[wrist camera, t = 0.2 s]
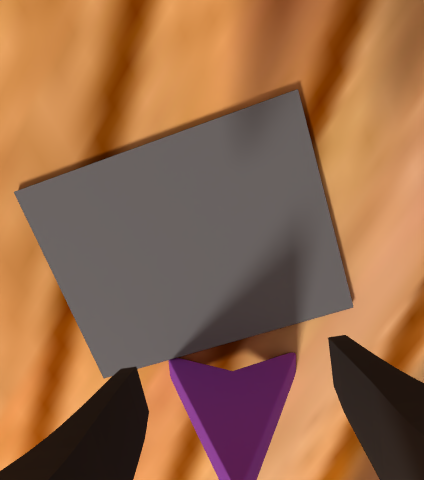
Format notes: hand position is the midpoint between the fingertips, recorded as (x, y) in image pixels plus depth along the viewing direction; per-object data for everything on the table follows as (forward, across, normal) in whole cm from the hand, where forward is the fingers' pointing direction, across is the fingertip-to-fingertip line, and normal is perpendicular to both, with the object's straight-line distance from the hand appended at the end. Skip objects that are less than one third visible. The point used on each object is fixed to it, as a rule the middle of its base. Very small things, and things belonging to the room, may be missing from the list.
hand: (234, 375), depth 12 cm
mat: (+10, +2, -2) cm, 11 cm away
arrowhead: (+10, +1, +7) cm, 12 cm away
